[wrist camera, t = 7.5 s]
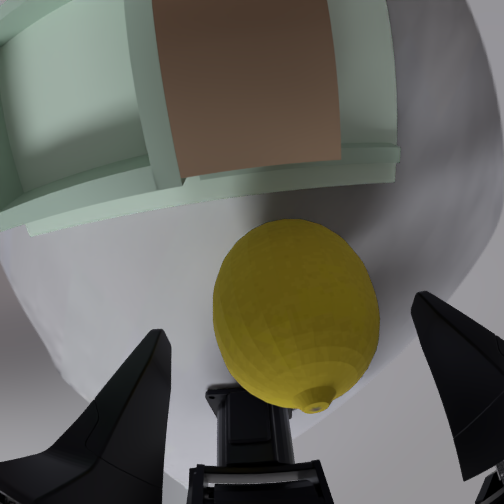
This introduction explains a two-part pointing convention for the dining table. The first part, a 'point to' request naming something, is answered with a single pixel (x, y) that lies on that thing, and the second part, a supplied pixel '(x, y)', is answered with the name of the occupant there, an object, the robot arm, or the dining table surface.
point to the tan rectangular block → (248, 82)
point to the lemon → (295, 314)
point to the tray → (154, 115)
